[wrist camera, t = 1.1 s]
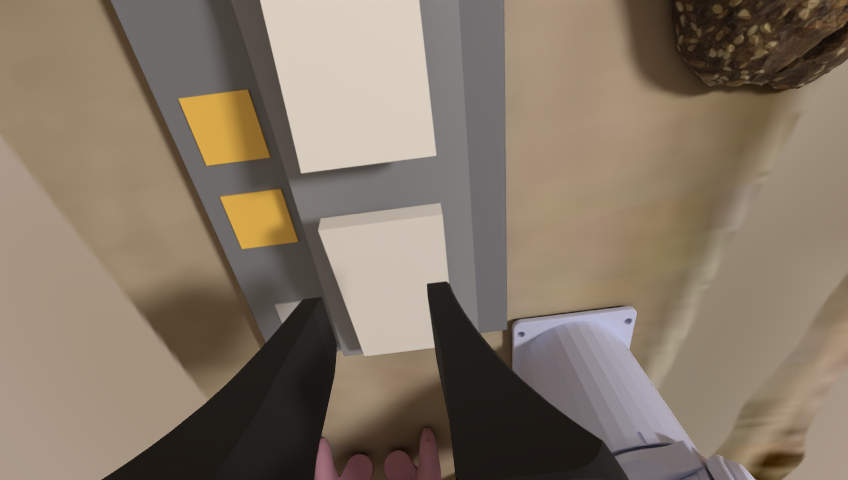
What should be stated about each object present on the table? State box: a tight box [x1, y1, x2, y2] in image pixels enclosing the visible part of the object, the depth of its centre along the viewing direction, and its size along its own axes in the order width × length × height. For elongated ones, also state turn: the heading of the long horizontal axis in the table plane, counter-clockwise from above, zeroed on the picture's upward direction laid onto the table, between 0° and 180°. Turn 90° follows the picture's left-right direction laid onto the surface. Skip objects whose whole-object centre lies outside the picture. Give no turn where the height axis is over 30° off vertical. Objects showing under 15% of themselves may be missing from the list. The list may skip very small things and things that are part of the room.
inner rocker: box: [318, 203, 449, 356], centre depth 19 cm, size 9×5×1 cm, turn 7°
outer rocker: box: [260, 0, 436, 173], centre depth 13 cm, size 9×5×1 cm, turn 6°
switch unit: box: [111, 0, 507, 356], centre depth 18 cm, size 24×15×2 cm, turn 7°
